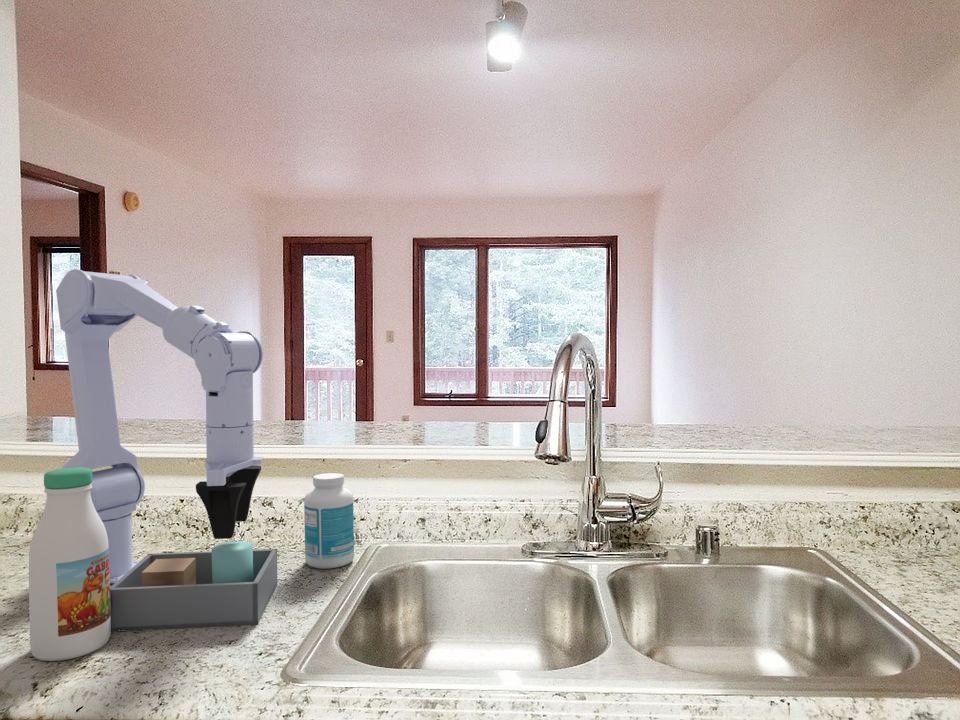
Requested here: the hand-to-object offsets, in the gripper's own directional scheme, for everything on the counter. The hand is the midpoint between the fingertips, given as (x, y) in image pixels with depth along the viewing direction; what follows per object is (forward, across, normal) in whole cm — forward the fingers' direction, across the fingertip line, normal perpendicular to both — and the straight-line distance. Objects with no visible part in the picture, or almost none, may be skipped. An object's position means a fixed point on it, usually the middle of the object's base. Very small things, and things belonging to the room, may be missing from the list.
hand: (231, 529), depth 86 cm
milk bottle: (+10, -10, +15) cm, 21 cm away
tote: (+10, 0, +4) cm, 11 cm away
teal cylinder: (+9, 0, 0) cm, 9 cm away
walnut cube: (+9, 0, +8) cm, 12 cm away
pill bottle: (+10, +15, -11) cm, 21 cm away
